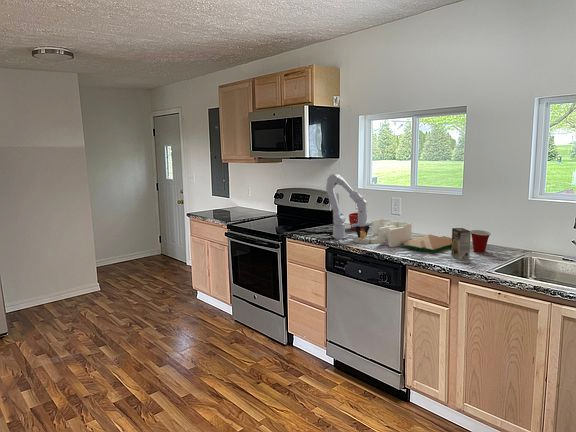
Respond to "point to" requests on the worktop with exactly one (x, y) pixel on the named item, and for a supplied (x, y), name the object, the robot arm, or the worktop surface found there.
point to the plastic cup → (479, 240)
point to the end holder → (372, 240)
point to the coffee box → (460, 243)
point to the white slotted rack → (384, 223)
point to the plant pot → (352, 221)
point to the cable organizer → (391, 236)
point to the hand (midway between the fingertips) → (362, 236)
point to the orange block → (362, 234)
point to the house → (429, 242)
